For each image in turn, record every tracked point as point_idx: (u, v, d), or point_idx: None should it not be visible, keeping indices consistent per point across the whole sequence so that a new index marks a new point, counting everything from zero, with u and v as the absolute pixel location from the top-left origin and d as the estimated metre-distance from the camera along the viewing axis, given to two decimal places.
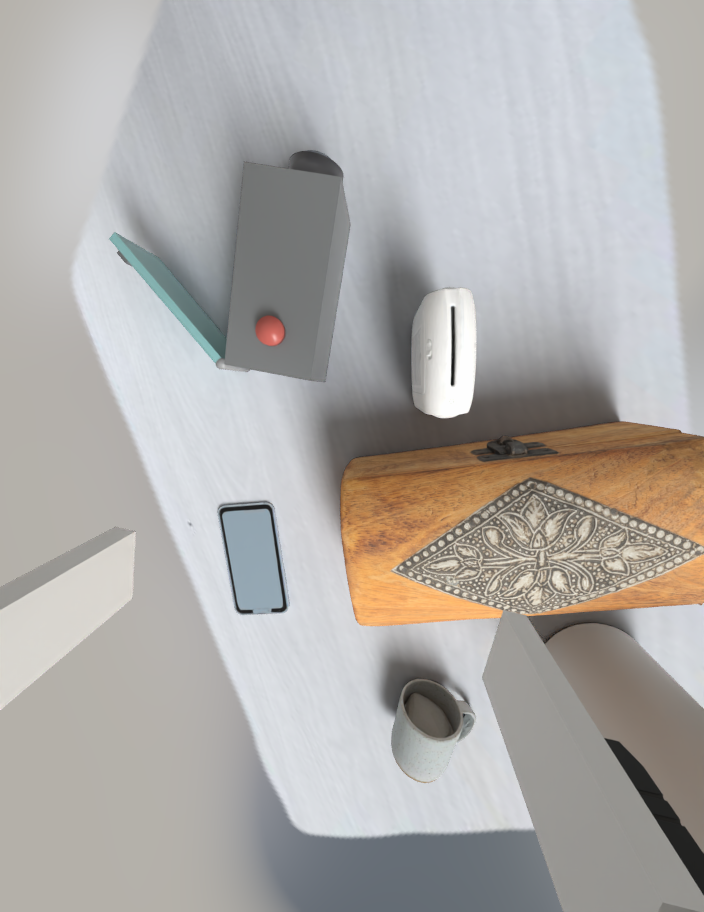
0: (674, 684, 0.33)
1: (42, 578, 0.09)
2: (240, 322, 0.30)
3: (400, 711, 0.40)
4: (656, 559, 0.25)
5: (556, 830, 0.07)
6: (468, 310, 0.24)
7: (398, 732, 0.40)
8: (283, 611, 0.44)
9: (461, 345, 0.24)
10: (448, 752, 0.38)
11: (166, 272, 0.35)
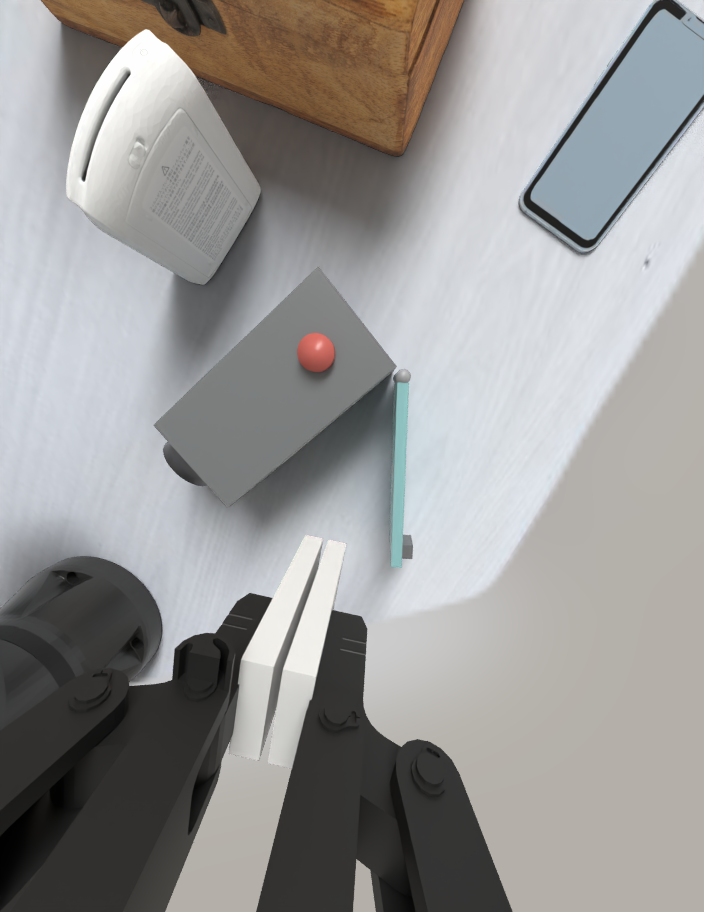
0: None
1: (299, 579, 0.11)
2: (342, 391, 0.23)
3: None
4: None
5: None
6: (69, 161, 0.18)
7: None
8: None
9: (88, 113, 0.17)
10: None
11: (390, 514, 0.30)
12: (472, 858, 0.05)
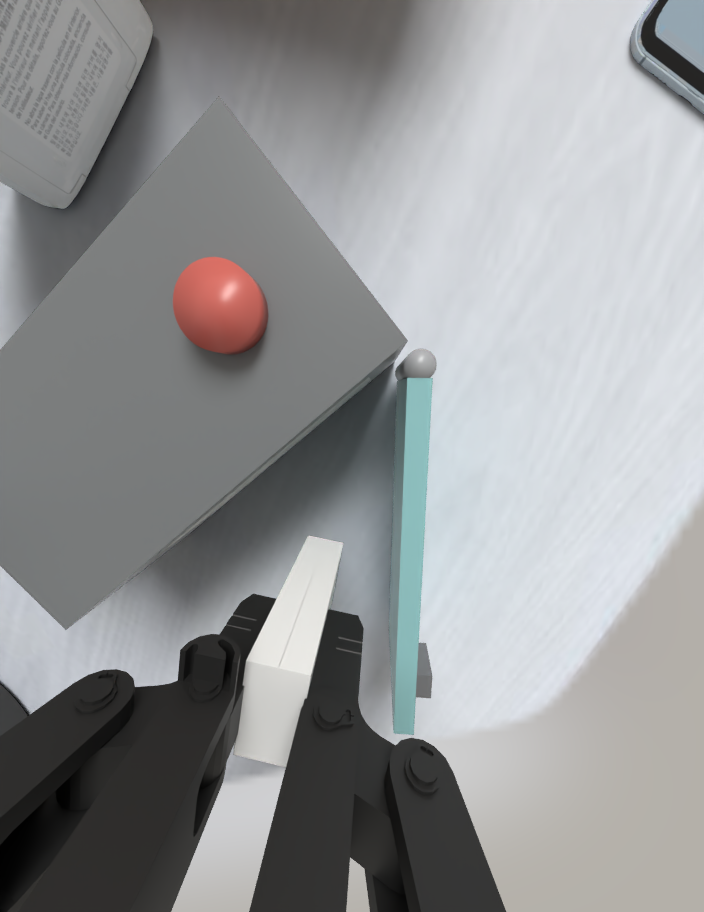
0: None
1: (302, 580, 0.11)
2: (285, 397, 0.10)
3: None
4: None
5: None
6: None
7: None
8: None
9: None
10: None
11: None
12: (464, 857, 0.05)
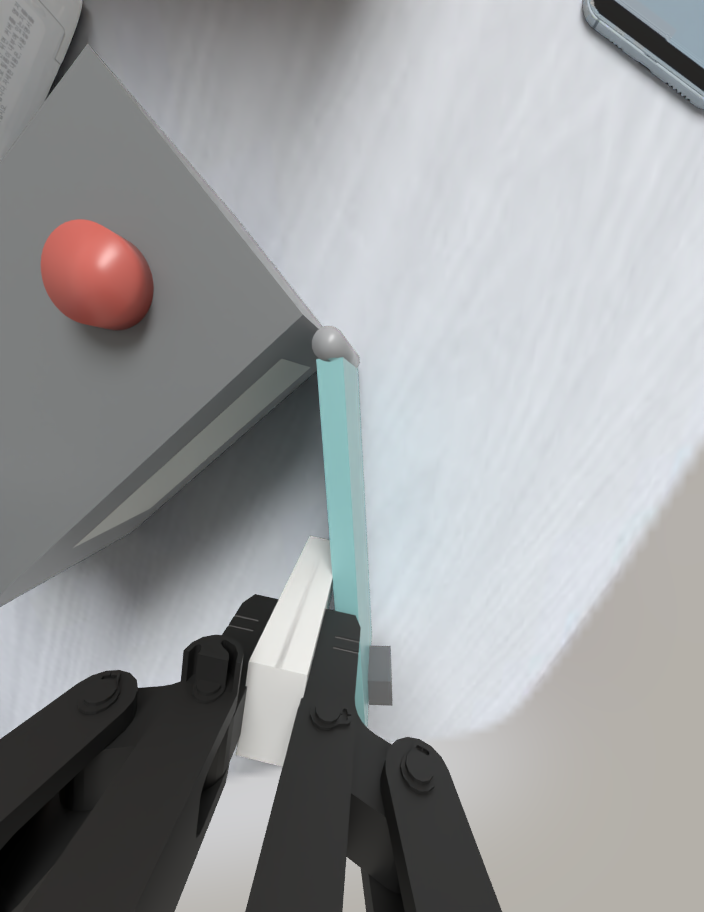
0: None
1: (304, 580, 0.11)
2: (177, 377, 0.09)
3: None
4: None
5: None
6: None
7: None
8: None
9: None
10: None
11: None
12: (460, 855, 0.05)
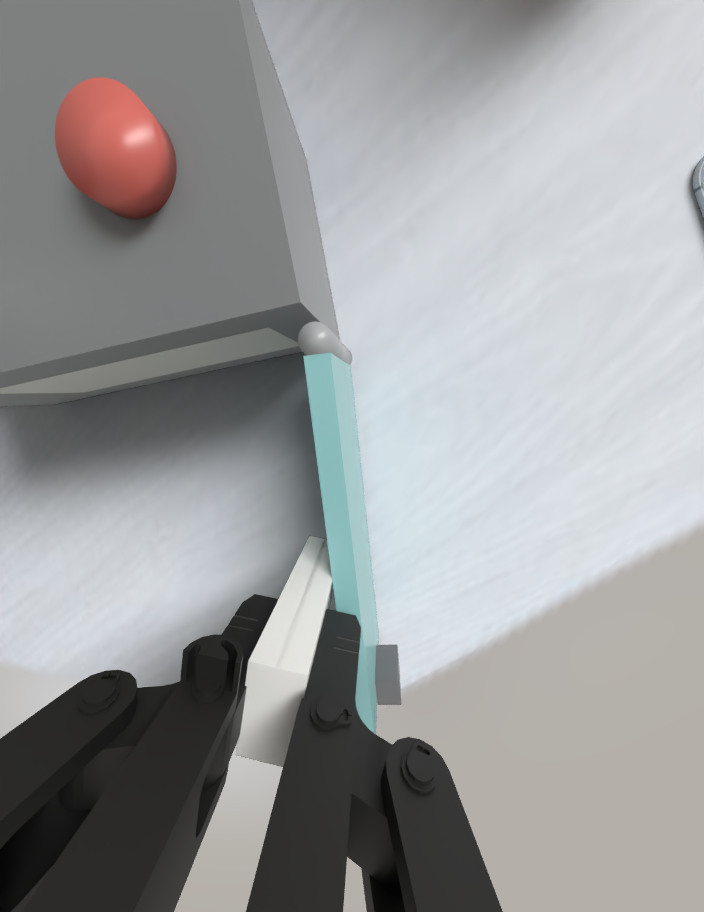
0: None
1: (304, 580, 0.11)
2: (153, 292, 0.09)
3: None
4: None
5: None
6: None
7: None
8: None
9: None
10: None
11: None
12: (460, 855, 0.05)
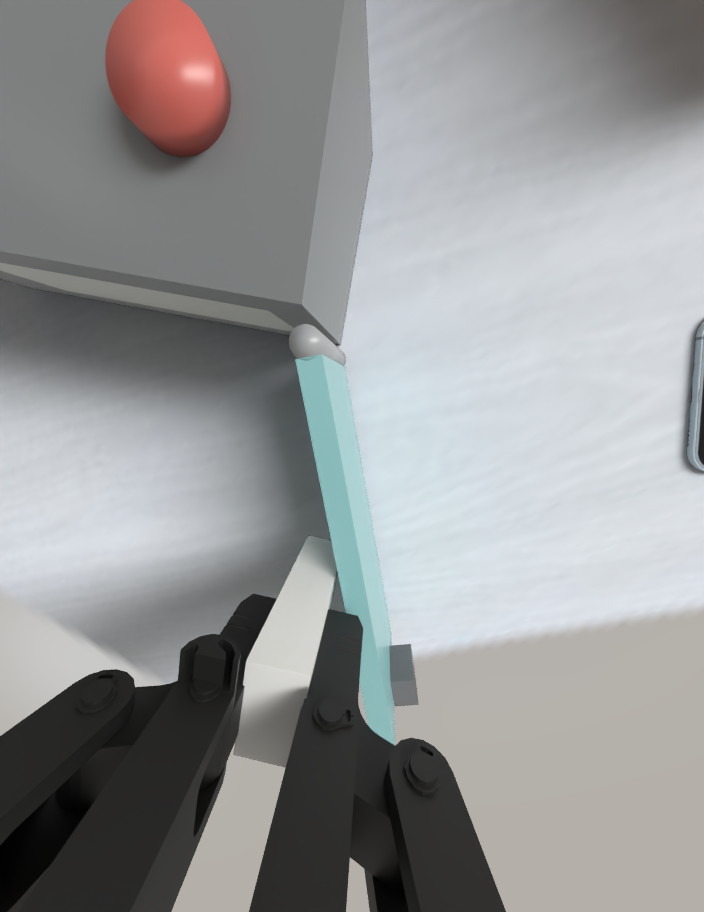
0: None
1: (302, 580, 0.11)
2: (160, 233, 0.08)
3: None
4: None
5: None
6: None
7: None
8: None
9: None
10: None
11: None
12: (464, 857, 0.05)
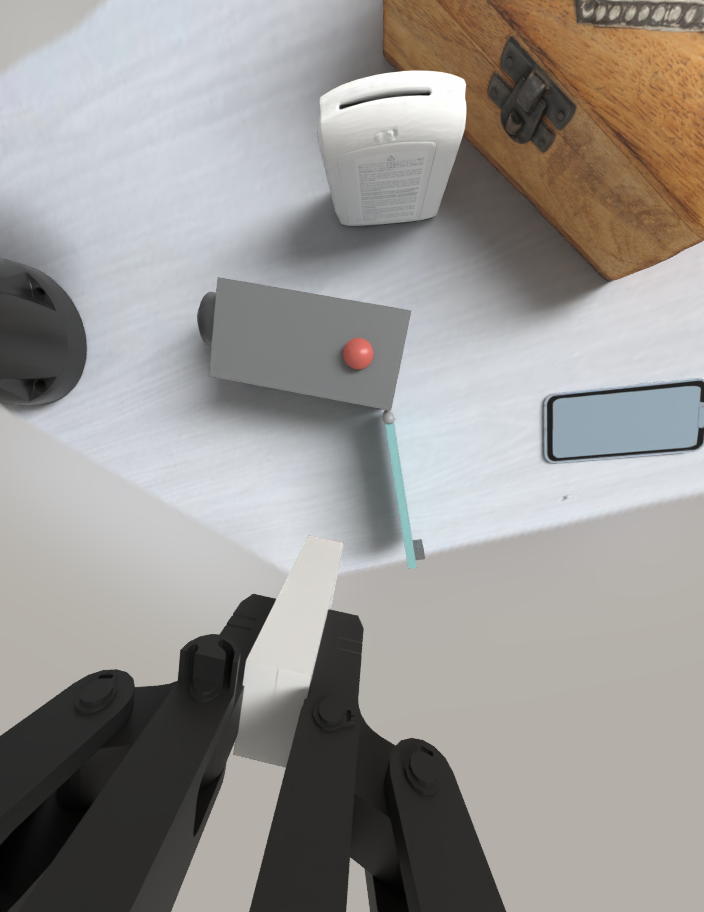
0: None
1: (302, 580, 0.11)
2: (348, 389, 0.28)
3: None
4: None
5: None
6: (343, 86, 0.21)
7: None
8: None
9: (384, 83, 0.20)
10: None
11: None
12: (464, 857, 0.05)
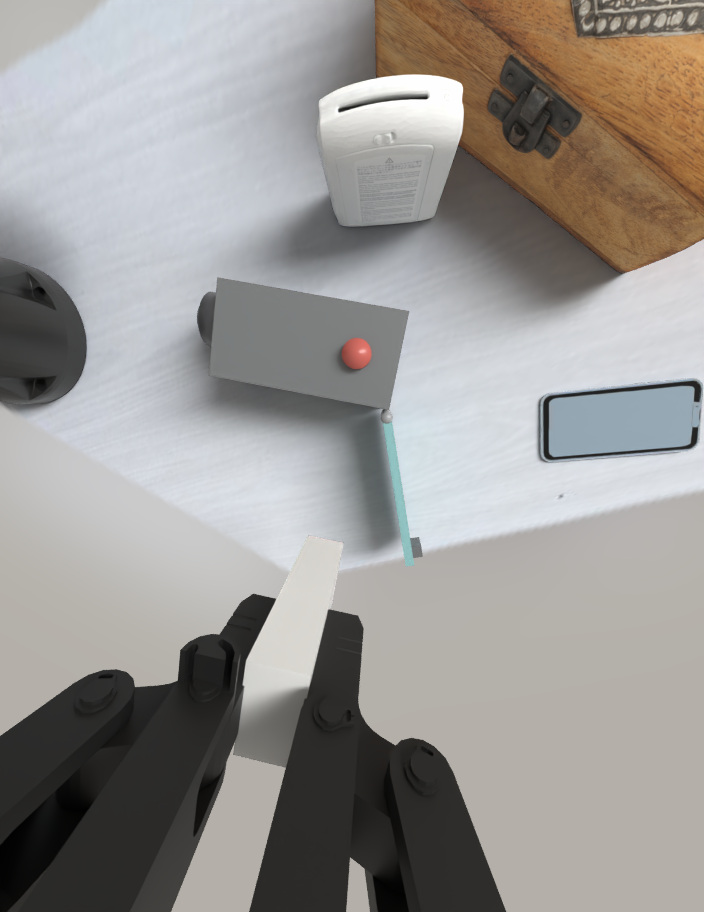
0: None
1: (302, 580, 0.11)
2: (347, 389, 0.29)
3: None
4: None
5: None
6: (342, 89, 0.21)
7: None
8: (700, 385, 0.33)
9: (382, 86, 0.21)
10: None
11: None
12: (464, 856, 0.05)
